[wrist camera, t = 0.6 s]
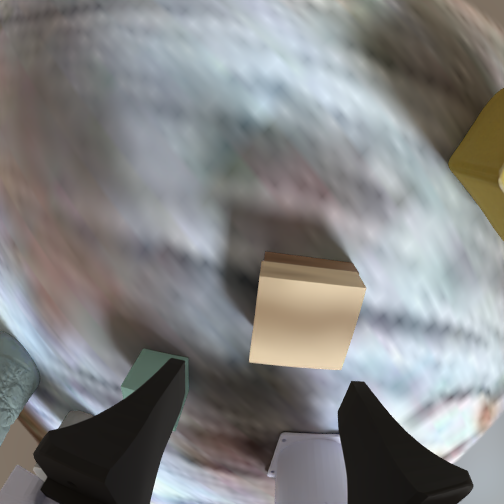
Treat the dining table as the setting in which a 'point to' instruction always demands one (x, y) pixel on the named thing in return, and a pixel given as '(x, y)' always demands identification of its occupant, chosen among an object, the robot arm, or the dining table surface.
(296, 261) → the walnut slab
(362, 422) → the robot arm
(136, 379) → the teal block
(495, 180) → the flower pot
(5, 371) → the grey-green embossed container
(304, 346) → the oak slab
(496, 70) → the dining table surface
